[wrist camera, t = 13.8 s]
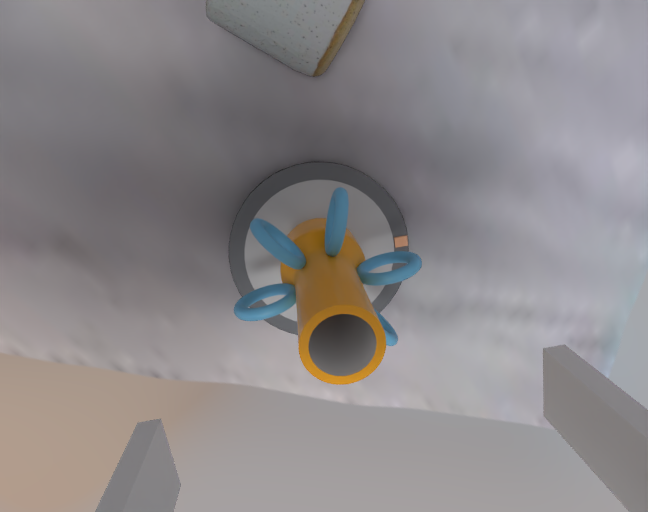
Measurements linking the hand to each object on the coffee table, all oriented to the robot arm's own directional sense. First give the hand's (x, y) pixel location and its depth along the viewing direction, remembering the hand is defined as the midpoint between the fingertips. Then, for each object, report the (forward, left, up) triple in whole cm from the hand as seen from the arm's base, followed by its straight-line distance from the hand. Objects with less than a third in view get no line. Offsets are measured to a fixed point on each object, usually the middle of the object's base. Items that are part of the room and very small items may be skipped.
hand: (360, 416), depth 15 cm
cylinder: (0, 0, -21) cm, 21 cm away
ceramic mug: (+1, +19, -22) cm, 29 cm away
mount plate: (0, 0, -22) cm, 22 cm away
